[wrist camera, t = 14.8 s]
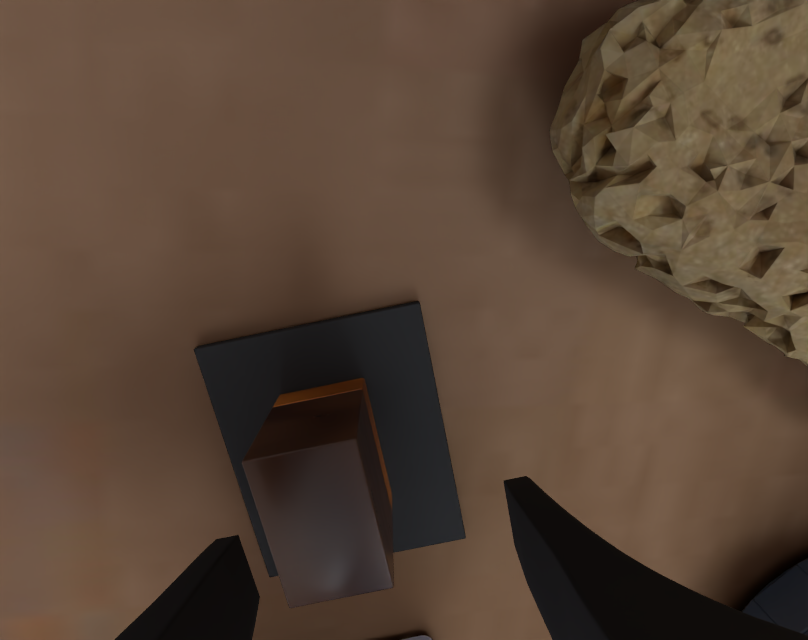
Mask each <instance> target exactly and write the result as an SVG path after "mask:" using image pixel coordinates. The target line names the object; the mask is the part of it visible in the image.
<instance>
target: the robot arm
mask: <svg viewBox="0 0 808 640" xmlns="http://www.w3.org/2000/svg"><path fill="white" fill-rule="evenodd" d="M504 486H505V492H506V498H507V504H508V510H509V515H510V521H511V527H512V533H513V539H514V545H515V548H516V551H517V554H518V557H519V560H520V563H521V566H522V569H523V572H524V575H525V578H526V581H527V584H528V586H529V588H530V591H531V593H532V595H533V597H534V600H535V602H536V604H537V606H538V608H539V611H540V613H541V615H542V617H543V619H544V622H545V624H546V626H547V628H548V630H549V633H550V635H551V637H552V639H553V640H808V635H805V634H802V633H799V632H796V631H793V630H790V629H788V628H785V627H782V626H779V625H776V624H773V623H770V622H768V621H765V620H762V619H759V618H756V617H753V616H751V615H748V614H746V613H743V612H741V611H739V610H736V609H734V608H731V607H729V606H726V605H724V604H722V603H719V602H717V601H714V600H712V599H710V598H708V597H706V596H703V595H701V594H699V593H697V592H695V591H692V590H690V589H688V588H686V587H684V586H682V585H680V584H678V583H676V582H674V581H672V580H670V579H668V578H666V577H664V576H663V575H661V574H659V573H657V572H655V571H653V570H651V569H650V568H648V567H646V566H644V565H643V564H641V563H639V562H638V561H636V560H634V559H633V558H631V557H629V556H628V555H626V554H625V553H623V552H621V551H620V550H618V549H617V548H615V547H614V546H612V545H611V544H609V543H608V542H607V541H605V540H604V539H602V538H601V537H600V536H598V535H597V534H595V533H594V532H593V531H591V530H590V529H589V528H587V527H586V526H585V525H583V524H582V523H581V522H580V521H578V520H577V519H576V518H575V517H573V516H572V515H571V514H570V513H568V512H567V511H566V510H565V509H563V508H562V507H561V506H560V505H559V504H557V503H556V502H555V501H554V500H553V499H552V498H551V497H549V496H548V495H547V494H546V493H545V492H544V491H543V490H542V489H541V488H540V487H539V486H537V485H536V484H535V483H534V482H533V481H532V480H531V479H530V478H528V477H527V476H524V477H519V478H514V479H509V480H504ZM259 599H260V596H259V593H258V590H257V587H256V584H255V582H254V579H253V576H252V573H251V570H250V567H249V564H248V561H247V558H246V556H245V553H244V550H243V547H242V544H241V541H240V538H239V535H235V536H231V537H226V538H221V539H216V540H215V541H214V542H213V543H212V544H211V545H209V546H208V547H207V548H206V549H205V550H204V551H203V552H202V553H201V554H200V555H199V556H198V557H197V558H196V559H195V560H194V561H193V562H192V563H191V564H190V565H189V566H188V568H187V569H186V570H185V571H184V572H183V573H182V574H181V575H180V576H179V577H178V578H177V579H176V580H175V581H174V582H173V583H172V584H171V585H170V586H169V587H168V588H167V589H166V590H165V591H164V592H163V593H162V594H161V595H160V596H159V597H158V598H157V599H156V600H155V601H154V602H153V603H152V604H151V605H150V606H149V607H148V608H147V609H146V610H145V611H144V612H143V613H142V614H141V615H140V616H139V617H138V618H137V619H136V620H135V621H134V622H132V623H131V624H130V625H129V626H128V627H127V628H126V629H125V630H124V631H123V632H122V633H121V634H120V635H119V636H118V637H117V638H116V639H115V640H252V637H253V632H254V627H255V622H256V616H257V610H258V604H259ZM401 640H432V639H431V638H430V637H429V636H425V635H421V636H416V637H411V638H406V639H401Z"/></svg>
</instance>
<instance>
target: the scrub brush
mask: <svg viewBox="0 0 808 640" xmlns="http://www.w3.org/2000/svg"><path fill="white" fill-rule="evenodd" d="M242 465H243V468H244V471H245V474H246V477H247V480H248V483H249V486H250V489H251V492H252V495H253V498H254V501H255V504H256V507H257V510H258V514H259V517H260V520H261V523H262V526H263V529H264V532H265V535H266V538H267V541H268V544H269V547H270V550H271V553H272V556H273V559H274V562H275V565H276V568H277V572H278V575H279V578H280V581H281V584H282V587H283V590H284V593H285V596H286V599H287V602H288V605H289V608H294V607H299V606H304V605H309V604H314V603H319V602H324V601H329V600H334V599H339V598H344V597H349V596H354V595H359V594H364V593H369V592H374V591H379V590H384V589H389V588H393V587H394V567H393V521H392V492H391V488H390V484H389V479H388V475H387V471H386V467H385V463H384V459H383V454H382V450H381V446H380V442H379V438H378V433H377V429H376V425H375V421H374V417H373V412H372V408H371V404H370V400H369V396H368V392H367V387H366V383H365V379H364V378H359V379H354V380H349V381H345V382H340V383H335V384H330V385H325V386H320V387H315V388H310V389H305V390H300V391H296V392H291V393H286V394H281V395H279V397H278V399H277V400H276V402H275V404H274V406H273V408H272V409H271V411H270V413H269V414H268V416H267V418H266V420H265V422H264V423H263V425H262V427H261V429H260V430H259V432H258V434H257V436H256V438H255V439H254V441H253V443H252V445H251V446H250V448H249V450H248V452H247V454H246V455H245V457H244V459H243V461H242Z"/></svg>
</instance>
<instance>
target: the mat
mask: <svg viewBox="0 0 808 640" xmlns="http://www.w3.org/2000/svg"><path fill="white" fill-rule="evenodd" d="M194 352H195V355H196V358H197V361H198V364H199V367H200V370H201V373H202V376H203V379H204V382H205V385H206V388H207V391H208V394H209V397H210V400H211V403H212V406H213V409H214V412H215V415H216V418H217V421H218V424H219V427H220V430H221V433H222V436H223V439H224V442H225V445H226V448H227V451H228V454H229V457H230V460H231V463H232V466H233V469H234V472H235V475H236V478H237V481H238V484H239V487H240V490H241V493H242V496H243V499H244V502H245V505H246V508H247V511H248V514H249V517H250V520H251V523H252V526H253V529H254V532H255V535H256V538H257V541H258V544H259V547H260V550H261V553H262V556H263V559H264V562H265V565H266V568H267V571H268V574H269V577H273V576H278V572H277V568H276V565H275V562H274V559H273V556H272V553H271V550H270V547H269V544H268V541H267V538H266V535H265V532H264V529H263V526H262V523H261V520H260V517H259V514H258V510H257V507H256V504H255V501H254V498H253V495H252V492H251V489H250V486H249V483H248V480H247V477H246V474H245V471H244V468H243V465H242V461H243V459H244V457H245V455H246V454H247V452H248V450H249V448H250V446H251V445H252V443H253V441H254V439H255V438H256V436H257V434H258V432H259V430H260V429H261V427H262V425H263V423H264V422H265V420H266V418H267V416H268V414H269V413H270V411H271V409H272V408H273V406H274V404H275V402H276V400H277V399H278V397H279V395H281V394H286V393H291V392H296V391H300V390H305V389H310V388H315V387H320V386H325V385H330V384H335V383H340V382H345V381H349V380H354V379H359V378H364V379H365V383H366V387H367V392H368V396H369V400H370V404H371V408H372V412H373V417H374V421H375V425H376V429H377V433H378V438H379V442H380V446H381V450H382V454H383V459H384V463H385V467H386V471H387V475H388V479H389V484H390V488H391V492H392V521H393V553H394V552H399V551H404V550H409V549H414V548H419V547H424V546H429V545H434V544H439V543H444V542H449V541H454V540H459V539H464V538H466V536H465V531H464V526H463V521H462V516H461V511H460V505H459V500H458V495H457V490H456V485H455V480H454V475H453V470H452V465H451V460H450V455H449V450H448V444H447V439H446V434H445V429H444V424H443V419H442V414H441V409H440V404H439V399H438V394H437V389H436V383H435V378H434V373H433V368H432V363H431V358H430V353H429V348H428V343H427V338H426V333H425V328H424V322H423V317H422V312H421V307H420V303H419V301H416V302H411V303H406V304H401V305H396V306H392V307H387V308H382V309H377V310H372V311H367V312H362V313H357V314H353V315H348V316H343V317H338V318H333V319H328V320H323V321H318V322H314V323H309V324H304V325H299V326H294V327H289V328H284V329H279V330H275V331H270V332H265V333H260V334H255V335H250V336H245V337H240V338H236V339H231V340H226V341H221V342H216V343H211V344H206V345H201V346H198V347H196V348H195V349H194Z"/></svg>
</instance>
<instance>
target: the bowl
mask: <svg viewBox="0 0 808 640" xmlns="http://www.w3.org/2000/svg"><path fill="white" fill-rule="evenodd" d="M741 612H743V613H746V614H748V615H751V616H753V617H756V618H759V619H762V620H765V621H768V622H770V623H773V624H776V625H779V626H782V627H785V628H788V629H790V630H793V631H796V632H799V633H802V634H805V635H808V558H806V559H804V560H803V561H801V562H799V563H797V564H796V565H794V566H793V567H791V568H789V569H788V570H786V571H785V572H783V573H782V574H780V575H779V576H778V577H776V578H775V579H774V580H772V581H771V582H770V583H769V584H767V585H766V586H765V587H764V588H763V589H762V590H761V591H760V592H759V593H758V594H757V595H755V596H754V598H753V599H752V600H751V601H750V602H749V603H748V604H747V605H746V607H745V608H744V609H743V610H742V611H741Z"/></svg>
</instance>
